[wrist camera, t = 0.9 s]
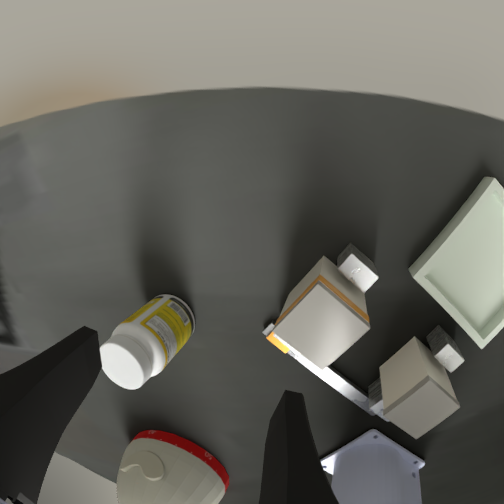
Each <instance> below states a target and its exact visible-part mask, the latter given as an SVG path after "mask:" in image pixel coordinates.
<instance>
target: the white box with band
mask: <svg viewBox="0 0 504 504" xmlns="http://www.w3.org/2000/svg"><path fill="white" fill-rule="evenodd" d="M369 329H370V324H369V316H368V315H367V309H366V302H365V295H364V293H363V292H362V291H361V290H360V289H359V288H358V287H357V286H355V285H354V284H353V283H352V282H351V281H350V280H349V279H347V278H346V277H345V276H344V275H343V274H342V273H340V272H339V271H338V270H337V266H336V265H335V264H333V263H332V262H331V261H330V260H329V259H328V258H326V257H325V256H323V257H322V258H321V259H320V260H319V261H318V262H317V264H316V265H315V266H314V267H313V268H312V269H311V270H310V271H309V272H308V274H307V275H306V276H305V277H304V278H303V279H302V280H301V281H300V282H299V283H298V284H297V286H296V287H295V288H294V289H293V290H292V291H291V292H290V293H289V295H288V298H287V300H286V302H285V305H284V307H283V309H282V312H281V314H280V317H279V318H278V319H277V321H276V323H275V326H274V328H273V330H272V332H274V333H275V334H276V335H277V336H279V337H280V338H281V339H282V340H284V341H285V342H286V343H287V344H289V345H290V346H291V347H292V348H294V349H295V350H296V351H297V352H299V353H300V354H301V355H303V356H304V357H305V358H306V359H308V360H309V361H310V362H312V363H313V364H314V365H315V366H317V367H318V368H319V369H321V370H322V371H323V370H324V369H325V368H326V367H327V366H329V365H330V364H331V363H332V362H333V361H335V360H336V359H337V358H338V357H339V356H340V355H341V354H343V353H344V352H345V351H346V350H347V349H348V348H349V347H351V346H352V345H353V344H354V343H355V342H356V341H357V340H358V339H359V338H361V337H362V336H363V335H364V334H365V333H366V332H367V331H368V330H369Z"/></svg>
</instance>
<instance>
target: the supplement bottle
mask: <svg viewBox="0 0 504 504" xmlns="http://www.w3.org/2000/svg"><path fill="white" fill-rule="evenodd" d="M194 329H195V320H194V316H193V313H192V311H191V309H190V308H189V306H188V305H187V304H186V303H185V302H184V301H183V300H181V299H180V298H178V297H176V296H173V295H167V294H164V295H159V296H156V297H155V298H153V299H152V300H151V301H149V302H148V303H147V304H145V305H144V306H143V307H142V308H140V309H139V310H138V311H136V312H135V313H134V314H132V315H131V316H130V317H129V318H127V319H126V320H125V321H123V322H122V323H121V324H119V325H118V326H117V327H116V328H115V330H114V331H113V333H112V337H111V338H110V339H109V340H107V341H106V342H105V343H104V344H103V345H102V346H101V347H100V355H101V361H102V369H103V370H104V372H105V373H106V375H107V376H108V377H109V378H110V379H111V380H112V381H113V382H114V383H116V384H117V385H119V386H121V387H123V388H126V389H131V390H133V389H137V388H139V387H141V386H142V385H143V384H144V383H145V382H146V381H147V380H148V379H149V378H150V377H152V376H155V375H157V374H159V373H160V372H161V371H162V370H163V369H164V367H165V366H166V365H167V364H168V363H169V362H170V360H171V359H172V358H173V357H174V356H175V355H176V354H177V352H178V351H179V350H180V349H181V348H182V346H183V345H184V344H185V343H186V342H187V340H188V339H189V338H190V337H191V336H192V334H193V332H194Z"/></svg>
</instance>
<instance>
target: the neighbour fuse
mask: <svg viewBox="0 0 504 504" xmlns="http://www.w3.org/2000/svg"><path fill="white" fill-rule="evenodd" d="M379 370H380V378H381V387H382V397H383V407H384V410H383V416H384V417H385V418H387V419H388V420H390V421H391V422H392V423H394V424H395V425H397V426H398V427H399V428H401V429H402V430H404V431H405V432H407V433H408V434H409V435H411V436H412V437H414V438H415V439H417V438H419V437H420V436H422V435H423V434H425V433H426V432H428V431H429V430H431V429H432V428H433V427H435V426H436V425H438V424H439V423H440V422H442V421H443V420H444V419H446V418H447V417H448V416H450V415H451V414H452V413H453V412H455V411H456V410H457V409H459V408H460V405H459V402H458V401H457V399H456V396H455V394H454V391H453V388H452V386H451V383H450V380H449V378H448V375H447V373H446V370H445V368H444V366H443V365H442V364H441V363H440V362H439V361H438V360H437V359H436V358H435V357H434V355H433V353H432V352H431V351H430V350H429V349H428V348H427V347H426V346H425V345H424V344H423V343H422V342H421V341H420V340H418V339H417V338H416V337H415V336H414V337H413V338H412V339H411V340H410V341H409V342H408V343H406V344H405V345H404V346H403V347H402V348H401V349H400V350H399V351H398V352H396V353H395V354H394V355H393V356H392V357H391V358H390V359H388V360H387V361H386V362H385V363H384V364H383V365H381V366H380V367H379Z"/></svg>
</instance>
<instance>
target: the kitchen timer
mask: <svg viewBox="0 0 504 504" xmlns="http://www.w3.org/2000/svg"><path fill="white" fill-rule="evenodd" d="M228 485H229V476H228V474H227V472H226V470H225V468H224V467H223V466H222V465H221V463H220V462H219V461H218V460H217V459H216V458H215V457H214V456H212V455H211V454H210V453H208V452H207V451H206V450H205V449H203V448H201V447H200V446H198V445H196V444H194V443H193V442H191V441H189V440H187V439H184V438H182V437H180V436H177V435H175V434H172V433H168V432H164V431H160V430H146V431H142V432H139V433H138V434H137V435H136V436H135V437H134V439H133V440H132V441H131V442H130V444H129V445H128V447H127V448H126V450H125V452H124V455H123V458H122V461H121V464H120V468H119V471H118V476H117V498H118V503H119V504H218V503H219V501H220V500H221V499H222V497H223V496H224V494H225V492H226V490H227V488H228Z"/></svg>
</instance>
